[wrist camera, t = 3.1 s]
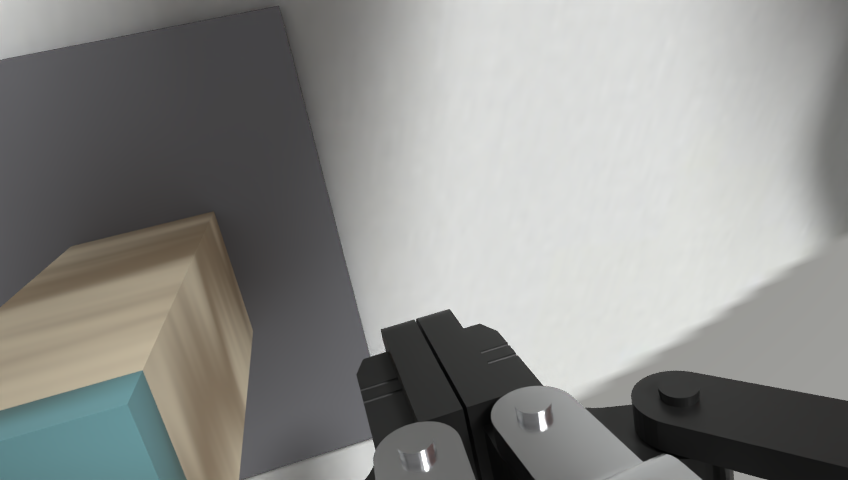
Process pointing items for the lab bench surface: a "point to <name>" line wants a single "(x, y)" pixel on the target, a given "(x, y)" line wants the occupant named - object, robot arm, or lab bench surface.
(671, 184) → the lab bench surface
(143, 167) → the mat
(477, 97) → the lab bench surface
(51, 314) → the bar
